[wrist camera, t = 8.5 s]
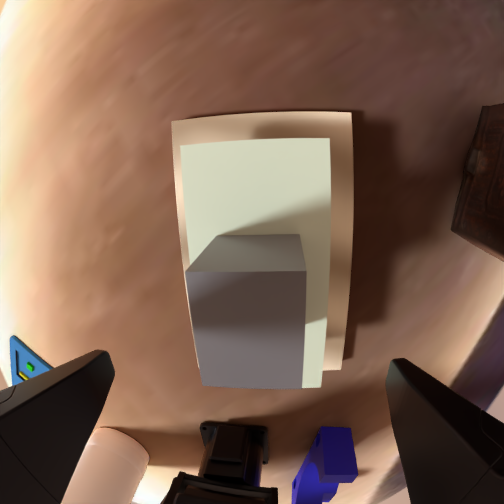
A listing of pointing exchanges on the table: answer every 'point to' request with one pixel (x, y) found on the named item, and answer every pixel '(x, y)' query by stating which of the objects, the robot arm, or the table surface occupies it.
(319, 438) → the cable clip
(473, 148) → the pepper mill
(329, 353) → the plate
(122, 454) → the bottle
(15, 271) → the table surface
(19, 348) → the handheld gaming device
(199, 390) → the table surface
